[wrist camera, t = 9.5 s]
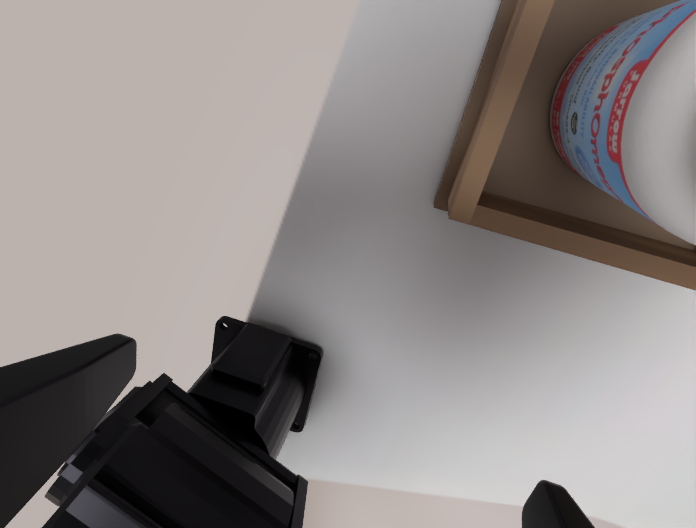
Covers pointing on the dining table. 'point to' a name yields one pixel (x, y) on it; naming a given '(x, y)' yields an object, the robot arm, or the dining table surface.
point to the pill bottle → (636, 115)
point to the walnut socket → (547, 147)
